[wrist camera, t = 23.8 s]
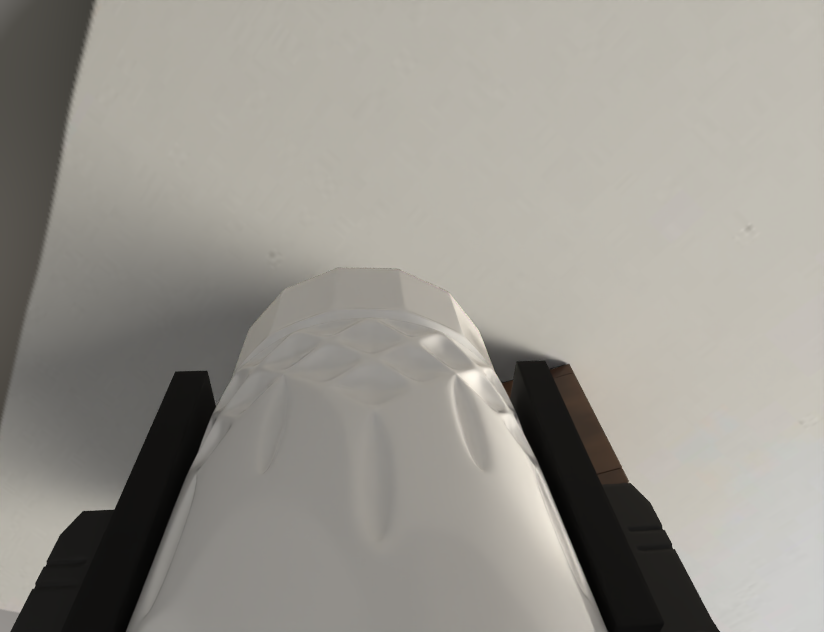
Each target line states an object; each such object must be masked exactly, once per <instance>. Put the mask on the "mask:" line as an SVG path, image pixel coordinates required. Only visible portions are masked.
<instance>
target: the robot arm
mask: <svg viewBox="0 0 824 632" xmlns="http://www.w3.org/2000/svg"><path fill="white" fill-rule="evenodd" d="M510 401H511V403H512V405H513V407H514V409H515V411H516V413H517V416H518V418H519V421H520V424H521V427H522V429H523V432H524V435H525V437H526V439H527V441H528V443H529V445H530V447H531V449H532V451H533V453H534V455H535V457H536V459H537V461H538V463H539V465H540V468H541V470H542V472H543V474H544V477H545V479H546V481H547V484H548V486H549V489H550V491H551V493H552V496H553V498H554V501H555V503H556V506H557V508H558V511H559V513H560V516H561V518H562V520H563V523H564V525H565V528H566V530H567V533H568V535H569V538H570V540H571V542H572V545H573V547H574V550H575V552H576V555H577V557H578V560H579V562H580V564H581V567H582V569H583V572H584V574H585V577H586V579H587V582H588V584H589V586H590V589H591V591H592V594H593V596H594V599H595V601H596V603H597V606H598V608H599V611H600V613H601V616H602V618H603V621H604V623H605V625H606V628H607V630H608V632H720V631H719V630H718V628H717V627H716V625H715V624H714V622H713V620H712V619H711V617H710V615H709V613H708V611H707V609H706V608H705V606H704V604H703V602H702V600H701V598H700V596H699V594H698V592H697V590H696V589H695V587H694V585H693V583H692V581H691V579H690V577H689V575H688V573H687V572H686V570H685V568H684V566H683V564H682V562H681V560H680V558H679V556H678V554H677V553H676V551H675V549H673V548H672V543H671V541H670V539H669V537H668V536H667V534H666V532H665V530H663V529H662V524H661V522H660V520H659V518H658V517H657V515H656V513H655V511H654V509H653V507H652V505H651V503H650V502H649V501H648V500H647V499H646V498H645V497H644V496H643V495H642V494H641V493H640V492H639V491H638V490H637V489H636V488H635V487H634V486H633V485H632V484H631V483H620V484H601V482H600V480H599V477H598V475H597V473H596V471H595V469H594V466H593V464H592V462H591V460H590V458H589V455H588V453H587V451H586V449H585V447H584V444H583V442H582V440H581V438H580V436H579V433H578V431H577V429H576V427H575V425H574V422H573V420H572V418H571V416H570V414H569V411H568V409H567V407H566V405H565V403H564V400H563V398H562V396H561V394H560V392H559V389H558V387H557V385H556V383H555V381H554V378H553V376H552V374H551V372H550V370H549V367H548V365H547V363H546V361H517V362H516V367H515V373H514V379H513V385H512V390H511V396H510ZM215 408H216V405H215V401H214V396H213V392H212V388H211V384H210V379H209V375H208V371H180V372H175V374H174V376H173V378H172V380H171V383H170V385H169V387H168V390H167V392H166V394H165V396H164V399H163V401H162V403H161V405H160V408H159V410H158V412H157V414H156V417H155V419H154V421H153V424H152V426H151V428H150V430H149V433H148V435H147V437H146V439H145V442H144V444H143V446H142V449H141V451H140V453H139V455H138V458H137V460H136V462H135V464H134V467H133V469H132V471H131V474H130V476H129V478H128V480H127V483H126V485H125V487H124V489H123V492H122V494H121V496H120V499H119V501H118V503H117V505H116V508H115V510H98V511H83V512H82V513H81V514H80V515H79V516H78V517H77V518H76V519H75V520H74V521H73V522H72V523H71V524H70V525H69V526H68V527H67V528H66V529H65V530H64V531H63V533H62V534H61V535H60V536H59V538H58V540H57V542H56V544H55V546H54V548H53V550H52V552H51V554H50V556H49V558H48V560H47V565H46V567H43V569H42V571H41V573H40V575H39V577H38V579H37V581H36V583H35V584H36V586H35V588H34V589H32V591H31V593H30V595H29V597H28V599H27V600H26V602H25V604H24V606H23V608H22V610H21V612H20V614H19V616H18V618H17V620H16V622H15V624H14V626H13V628H12V630H11V632H126V629H127V627H128V624H129V622H130V619H131V616H132V614H133V611H134V609H135V606H136V604H137V601H138V598H139V596H140V593H141V591H142V588H143V586H144V583H145V580H146V578H147V575H148V573H149V570H150V568H151V565H152V562H153V560H154V557H155V555H156V552H157V549H158V547H159V544H160V542H161V539H162V537H163V534H164V531H165V529H166V526H167V524H168V521H169V519H170V516H171V513H172V511H173V508H174V506H175V503H176V501H177V498H178V495H179V493H180V490H181V488H182V485H183V483H184V480H185V478H186V476H187V473H188V471H189V469H190V467H191V465H192V463H193V461H194V459H195V457H196V456H197V454H198V451H199V448H200V445H201V442H202V439H203V437H204V434H205V431H206V429H207V426H208V423H209V421H210V418H211V416H212V414H213V412H214V410H215Z"/></svg>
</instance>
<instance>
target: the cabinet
mask: <svg viewBox="0 0 824 632" xmlns="http://www.w3.org/2000/svg"><path fill="white" fill-rule="evenodd" d="M550 372H551V374H552V376H553V378H554V381H555V383H556V385H557V387H558V389H559V392H560V394H561V396H562V398H563V400H564V403H565V405H566V407H567V409H568V411H569V414H570V416H571V418H572V420H573V422H574V425H575V427H576V429H577V431H578V433H579V436H580V438H581V440H582V442H583V444H584V447H585V449H586V451H587V453H588V455H589V458H590V460H591V462H592V464H593V466H594V469H595V471H596V473H597V475H598V477H599V480H600V482H601V484H620V483H629V480H628V478H627V476H626V474H625V472H624V470H623V469H622V466H621V464H620V462H619V460H618V458H617V456H616V454H615V452H614V450H613V449H612V447H611V445H610V443H609V441H608V439H607V437H606V435H605V433H604V431H603V429H602V427H601V425H600V423H599V421H598V419H597V417H596V415H595V413H594V411H593V409H592V407H591V405H590V403H589V402H588V400H587V398H586V396H585V394H584V392H583V390H582V388H581V386H580V384H579V382H578V380H577V378H576V376H575V374H574V372H573V370H572V368H571V366H570V364H567V365H564V366H560V367H557V368H553V369H550ZM502 385H503V387H504V389H505V391H506V393H507V395H508V397H509V399H510V396H511V390H512V385H513V380H511V381H508V382H504V383H502Z"/></svg>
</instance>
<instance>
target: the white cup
mask: <svg viewBox="0 0 824 632" xmlns="http://www.w3.org/2000/svg"><path fill="white" fill-rule="evenodd" d="M126 632H608V630H607V628H606V625H605V623H604V621H603V618H602V616H601V613H600V611H599V608H598V606H597V603H596V601H595V599H594V596H593V594H592V591H591V589H590V586H589V584H588V582H587V579H586V577H585V574H584V572H583V569H582V567H581V564H580V562H579V560H578V557H577V555H576V552H575V550H574V547H573V545H572V542H571V540H570V538H569V535H568V533H567V530H566V528H565V525H564V523H563V520H562V518H561V516H560V513H559V511H558V508H557V506H556V503H555V501H554V498H553V496H552V493H551V491H550V489H549V486H548V484H547V481H546V479H545V477H544V474H543V472H542V470H541V468H540V465H539V463H538V461H537V459H536V457H535V455H534V453H533V451H532V449H531V447H530V445H529V443H528V441H527V439H526V437H525V435H524V432H523V429H522V427H521V424H520V421H519V418H518V416H517V413H516V411H515V409H514V407H513V405H512V403H511V401H510V399H509V397H508V395H507V393H506V391H505V389H504V387H503V385H502V383H501V381H500V380H499V378H498V376H497V375H496V373H495V371H494V368H493V366H492V363H491V360H490V358H489V355H488V353H487V350H486V347H485V345H484V342H483V340H482V337H481V334H480V332H479V330H478V329H477V327H476V326H475V325H474V323H473V322H472V321H471V320H470V318H469V317H468V316H467V315H466V313H465V312H464V311H463V309H462V308H461V307H460V306H459V304H458V303H457V302H456V301H455V299H454V298H453V297H452V296H451V294H450V293H449V292H448V291H446V290H443V289H441V288H439V287H437V286H435V285H433V284H430V283H428V282H426V281H424V280H422V279H419V278H417V277H415V276H413V275H411V274H408V273H406V272H404V271H402V270H400V269H391V268H335V269H333V270H330V271H328V272H326V273H323V274H321V275H318V276H316V277H313V278H311V279H308V280H306V281H303V282H301V283H298V284H296V285H293V286H291V287H288V288H286V289H284V290H283V291H282V292H281V293H280V294H279V295H278V297H277V298H276V299H275V300H274V301H273V302H272V303H271V305H270V306H269V307H268V308H267V309H266V310H265V311H264V312H263V314H262V315H261V316H260V317H259V318H258V319H257V320H256V321H255V323H254V324H253V325H252V326H251V327H250V329H249V331H248V334H247V336H246V339H245V342H244V345H243V347H242V350H241V353H240V356H239V358H238V361H237V364H236V367H235V370H234V372H233V375H232V378H231V381H230V383H229V384H228V386H227V388H226V389H225V391H224V393H223V395H222V397H221V398H220V400H219V402H218V404H217V406H216V408H215V410H214V412H213V414H212V416H211V418H210V421H209V423H208V426H207V429H206V431H205V434H204V437H203V439H202V442H201V445H200V448H199V451H198V454H197V456H196V457H195V459H194V461H193V463H192V465H191V467H190V469H189V471H188V473H187V476H186V478H185V480H184V483H183V485H182V488H181V490H180V493H179V495H178V498H177V501H176V503H175V506H174V508H173V511H172V513H171V516H170V519H169V521H168V524H167V526H166V529H165V531H164V534H163V537H162V539H161V542H160V544H159V547H158V549H157V552H156V555H155V557H154V560H153V562H152V565H151V568H150V570H149V573H148V575H147V578H146V580H145V583H144V586H143V588H142V591H141V593H140V596H139V598H138V601H137V604H136V606H135V609H134V611H133V614H132V616H131V619H130V622H129V624H128V627H127V629H126Z"/></svg>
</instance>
